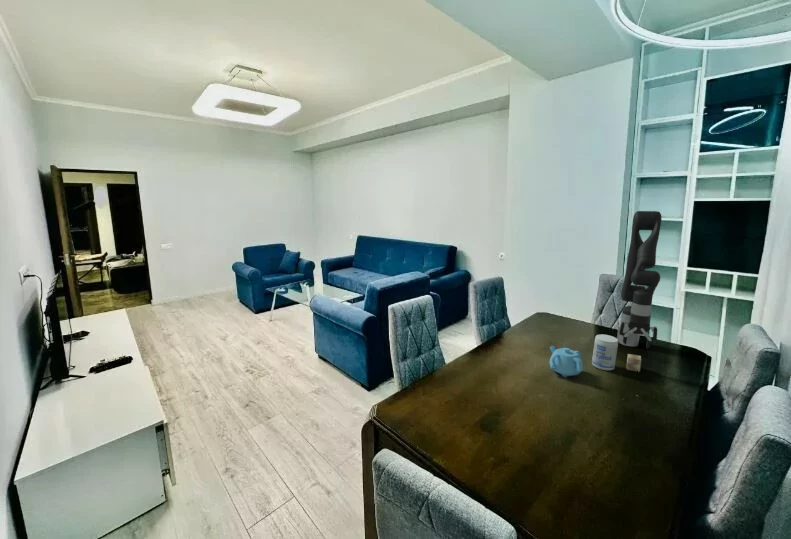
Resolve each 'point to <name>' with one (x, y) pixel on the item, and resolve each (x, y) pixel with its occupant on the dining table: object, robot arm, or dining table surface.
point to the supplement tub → (605, 352)
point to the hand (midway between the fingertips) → (636, 345)
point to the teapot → (566, 361)
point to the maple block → (633, 362)
